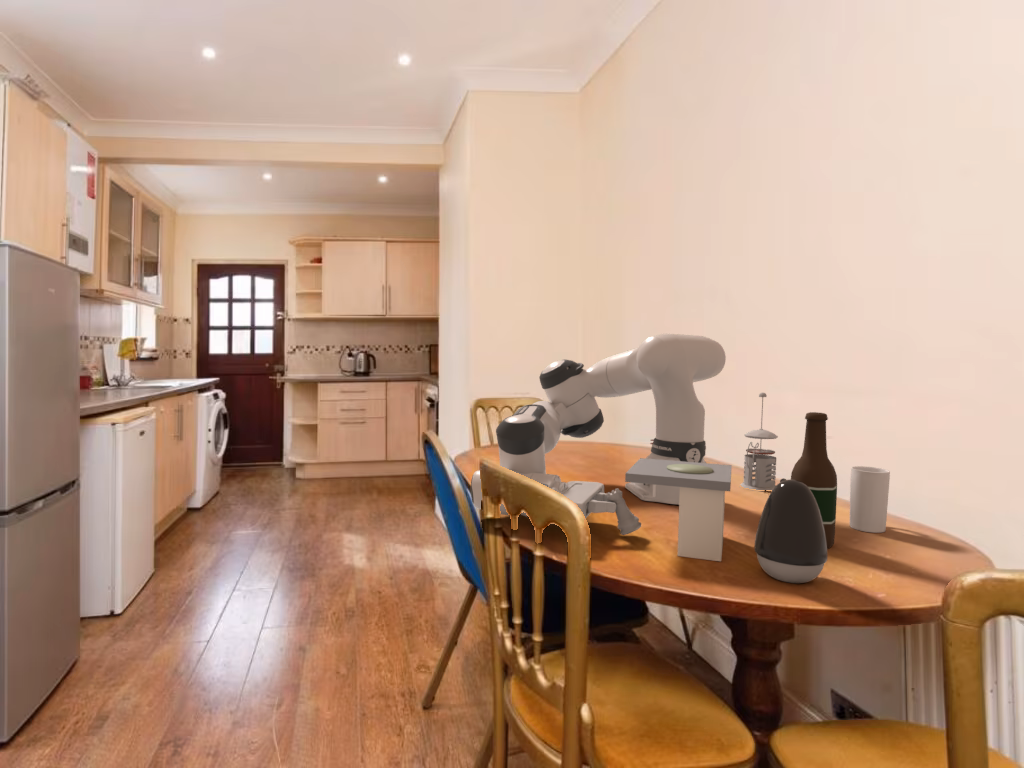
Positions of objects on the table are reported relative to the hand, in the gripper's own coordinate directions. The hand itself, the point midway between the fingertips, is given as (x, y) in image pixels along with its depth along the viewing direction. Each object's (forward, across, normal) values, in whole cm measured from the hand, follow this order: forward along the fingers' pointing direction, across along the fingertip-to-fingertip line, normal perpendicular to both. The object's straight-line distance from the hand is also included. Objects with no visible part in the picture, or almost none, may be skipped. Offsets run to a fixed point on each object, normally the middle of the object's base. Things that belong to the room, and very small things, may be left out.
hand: (618, 504), depth 113 cm
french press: (+26, -58, -6) cm, 63 cm away
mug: (+46, -27, -6) cm, 54 cm away
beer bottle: (+34, -10, -6) cm, 36 cm away
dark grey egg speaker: (+29, +11, -6) cm, 31 cm away
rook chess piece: (+3, 0, -5) cm, 5 cm away
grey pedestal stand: (+11, 0, -6) cm, 13 cm away
